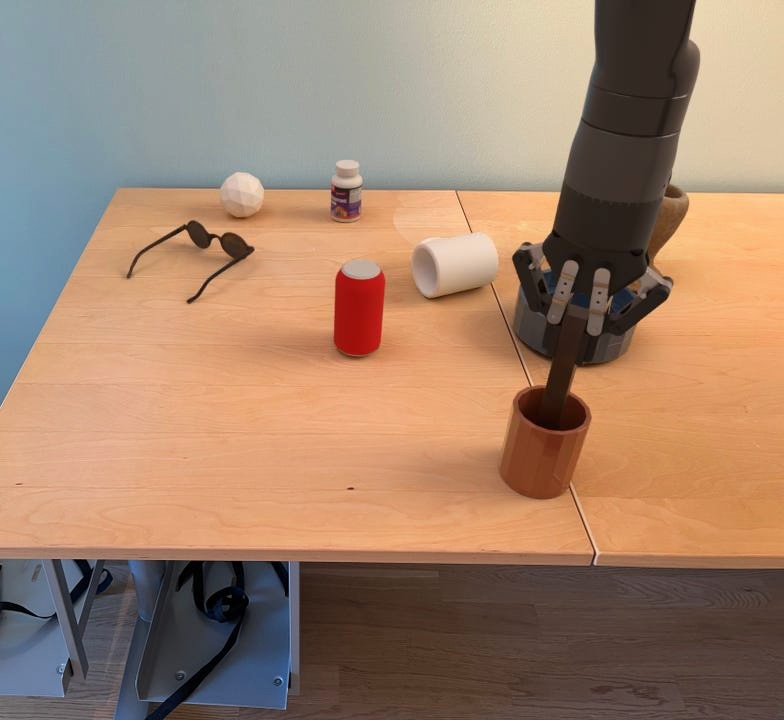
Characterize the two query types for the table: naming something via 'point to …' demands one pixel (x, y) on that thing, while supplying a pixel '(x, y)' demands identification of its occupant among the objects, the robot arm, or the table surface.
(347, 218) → the pill bottle
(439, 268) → the mug
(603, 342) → the bowl
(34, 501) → the table surface
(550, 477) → the holder
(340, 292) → the beverage can
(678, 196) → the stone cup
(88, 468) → the table surface
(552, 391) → the stick
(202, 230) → the eyeglasses
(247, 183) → the geometric ball
